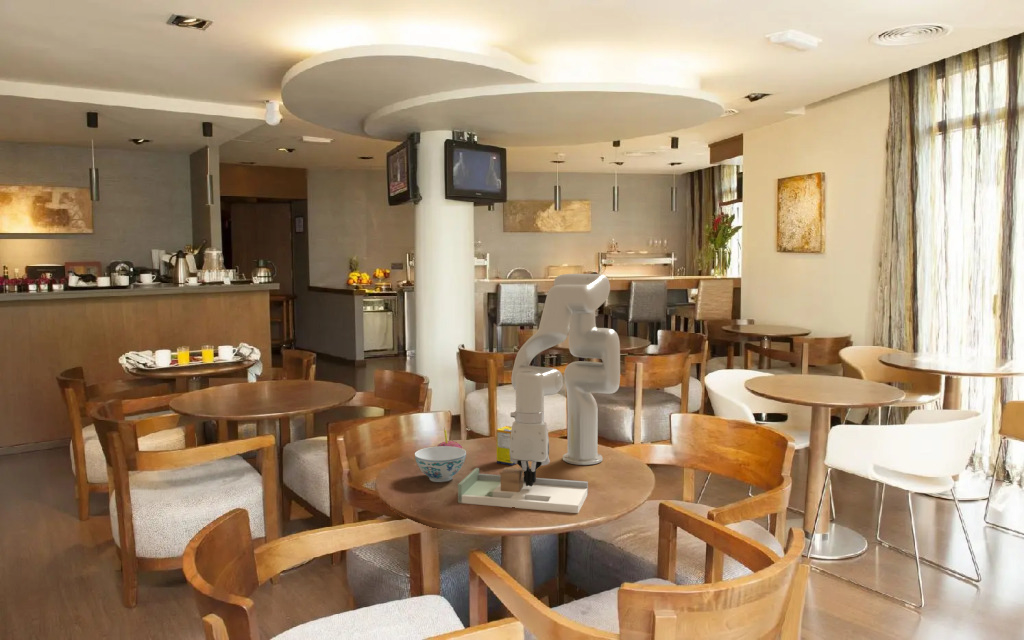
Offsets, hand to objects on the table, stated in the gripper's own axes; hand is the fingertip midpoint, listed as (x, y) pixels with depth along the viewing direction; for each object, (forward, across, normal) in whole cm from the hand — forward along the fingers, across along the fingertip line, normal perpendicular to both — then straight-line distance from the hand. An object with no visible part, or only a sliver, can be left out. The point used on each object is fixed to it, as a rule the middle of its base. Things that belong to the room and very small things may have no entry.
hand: (529, 484), depth 189 cm
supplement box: (+3, -14, +30) cm, 34 cm away
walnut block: (+1, -5, 0) cm, 5 cm away
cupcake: (+4, -32, +25) cm, 41 cm away
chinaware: (+4, -29, +10) cm, 31 cm away
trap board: (+3, -1, -2) cm, 4 cm away
